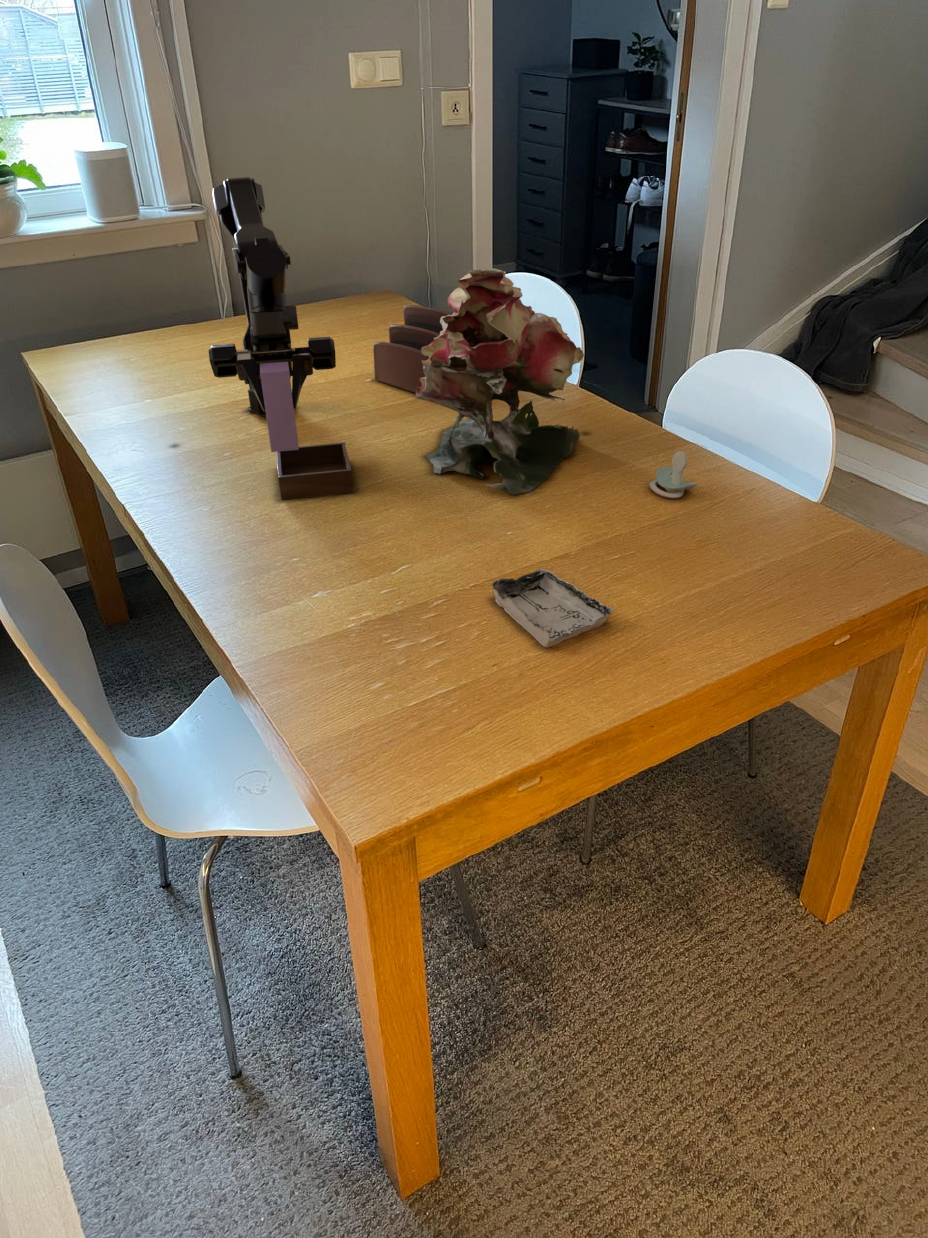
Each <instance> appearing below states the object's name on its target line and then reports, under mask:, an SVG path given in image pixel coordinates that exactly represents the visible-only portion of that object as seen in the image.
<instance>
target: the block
mask: <svg viewBox="0 0 928 1238" xmlns="http://www.w3.org/2000/svg"><path fill="white" fill-rule="evenodd" d="M260 376H261V383H262V390H263V397H264V404H265V411H266V417H265V418H266V425H267V430H268V439H269V444H270V445H269V446H270V452H271V453H276V452H280V451H291V450H299V447H300V446H299V439H298V431H297V422H296V414H295V409H294V407H293V399H292V380H291V379H290V373H289V365H288V362H276V363H263V364H260Z"/></svg>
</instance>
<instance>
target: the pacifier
mask: <svg viewBox="0 0 928 1238" xmlns="http://www.w3.org/2000/svg"><path fill="white" fill-rule="evenodd" d="M688 463H689V457H688V455H687V453H685V452H684V451H683V450H682V451H681V450H678V451H676V452H675V453H674V455H673V456H672V459H671V466H662V467H660V468H658V470H657V471H656V472H655V479H654V480H651V481H650V482H649V487H650V489H651V490H652V492H654V493H655V494H656V495H659V496H661V497H663V498H668V499H680V498H682V497H683V496H684V493H685V490H687V489H691V488H694V487H696V486H697V485H698V483H697V482H689V481H684V477H683V476H684V471H685V470H686V469H687V466H688ZM658 485H659V486H660V487H662V488H664V490H665V491H664V490H662V489H660V488H659V487H658Z"/></svg>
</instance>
